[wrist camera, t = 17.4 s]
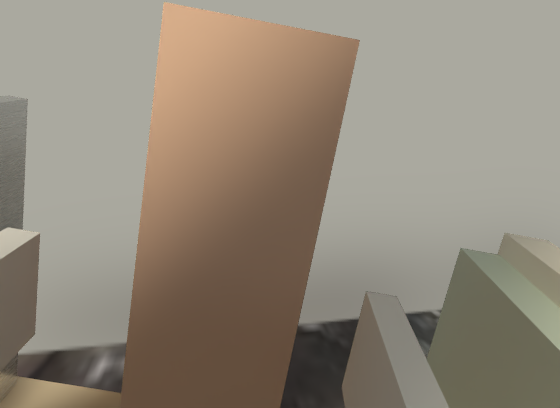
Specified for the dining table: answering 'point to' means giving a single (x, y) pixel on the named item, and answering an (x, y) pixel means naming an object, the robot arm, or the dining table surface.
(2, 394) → the grey flat panel
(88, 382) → the dining table surface
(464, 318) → the books
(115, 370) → the dining table surface
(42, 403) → the board
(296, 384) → the dining table surface
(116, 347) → the dining table surface
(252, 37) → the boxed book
